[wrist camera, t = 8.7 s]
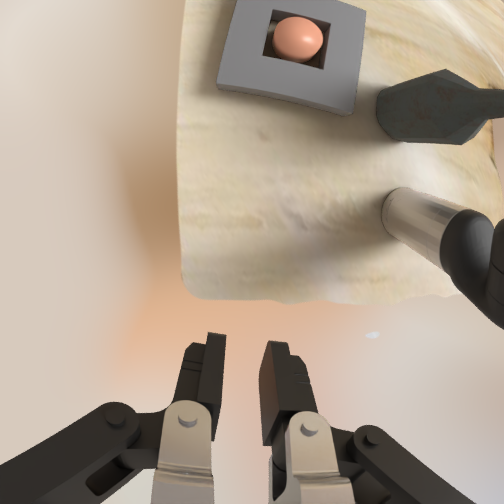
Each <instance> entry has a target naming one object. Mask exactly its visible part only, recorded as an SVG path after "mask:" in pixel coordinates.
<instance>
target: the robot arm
mask: <svg viewBox="0 0 504 504" xmlns="http://www.w3.org/2000/svg"><path fill="white" fill-rule="evenodd" d="M382 222H383V225H384V227H385V229H386V230H387V232H388V233H390V234H391V235H392V236H394V237H395V238H397V239H398V240H400V241H401V242H403V243H404V244H406V245H407V246H409V247H410V248H412V249H413V250H415V251H416V252H417V253H419V254H420V255H422V256H423V257H425V258H426V259H428V260H429V261H430V262H432V263H433V264H435V265H436V266H437V267H439V268H440V269H442V270H443V271H444V272H446V273H447V274H448V275H450V277H451V279H452V282H453V283H454V285H455V286H456V287H457V289H458V290H459V291H461V292H462V293H463V294H464V295H465V296H466V297H467V298H468V299H469V300H470V301H471V302H472V303H473V304H474V305H475V306H476V307H477V308H478V309H479V310H480V311H481V312H483V314H484V315H485V316H487V317H488V318H489V319H490V320H491V321H492V322H494V323H495V324H496V325H497V326H499V327H500V328H502V329H504V219H502V220H501V221H499V222H498V224H497V225H496V227H495V229H494V227H493V225H492V223H491V221H490V220H489V219H488V218H487V217H486V216H485V215H484V214H482V213H480V212H477V211H474V210H472V209H469V208H466V207H464V206H461V205H458V204H455V203H452V202H449V201H447V200H444V199H441V198H438V197H435V196H432V195H429V194H426V193H422V192H419V191H416V190H413V189H410V188H398V189H396V190H394V191H393V192H391V193H390V194H389V196H388V197H387V198H386V200H385V202H384V205H383V208H382ZM225 347H226V335H224V334H218V333H212V332H208V336H207V341H206V344H200V343H194V342H193V343H192V344H191V345H190V346H189V347H188V348H187V349H186V350H185V353H184V357H183V362H182V366H181V370H180V373H179V377H178V382H177V386H176V390H175V394H174V398H173V401H172V402H171V404H170V405H169V406H168V407H167V408H165V409H164V410H162V411H159V412H155V413H136V412H135V410H133V409H132V408H131V407H130V406H128V405H126V404H124V403H120V402H109V403H105V404H103V405H101V406H99V407H98V408H96V409H95V410H93V411H92V412H90V413H88V414H87V415H85V416H84V417H82V418H80V419H79V420H77V421H76V422H74V423H72V424H71V425H69V426H68V427H66V428H64V429H63V430H61V431H59V432H58V433H56V434H55V435H53V436H51V437H49V438H48V439H46V440H44V441H43V442H41V443H39V444H37V445H36V446H34V447H32V448H30V449H29V450H27V451H25V452H23V453H21V454H20V455H18V456H16V457H15V458H13V459H11V460H9V461H7V462H5V463H3V464H2V465H0V504H100V503H102V502H103V501H104V500H106V499H107V498H108V497H110V496H111V495H112V494H114V493H115V492H116V491H117V490H118V489H120V488H121V487H122V486H124V485H125V484H126V483H127V482H129V481H130V480H131V479H132V478H133V477H135V476H136V475H137V474H138V473H139V472H141V471H142V470H143V469H155V468H156V469H155V472H154V478H153V487H152V496H151V504H214V481H213V475H212V471H211V441H214V439H215V433H216V429H217V424H218V419H219V413H220V408H221V401H222V385H223V373H224V360H225ZM259 394H260V408H261V423H262V437H263V446H272V455H271V457H270V459H269V503H268V504H476V503H474V502H473V501H471V500H470V499H468V498H467V497H466V496H465V495H463V494H462V493H461V492H459V491H458V490H456V489H455V488H454V487H452V486H451V485H450V484H449V483H447V482H446V481H445V480H443V479H442V478H441V477H440V476H438V475H437V474H436V473H434V472H433V471H432V470H431V469H429V468H428V467H427V466H426V465H424V464H423V463H422V462H421V461H419V460H418V459H417V458H416V457H415V456H413V455H412V454H411V453H410V452H408V451H407V450H406V449H405V448H404V447H402V446H401V445H400V444H398V442H396V441H395V440H394V439H393V438H392V437H390V436H389V435H388V434H387V433H386V432H385V431H383V430H382V429H380V428H379V427H377V426H373V425H364V426H361V427H359V428H358V429H357V430H356V431H355V432H350V431H345V430H341V429H336V428H333V427H331V426H330V424H329V423H328V421H327V420H326V419H325V418H324V417H323V416H321V415H320V414H318V410H317V406H316V403H315V398H314V395H313V391H312V387H311V384H310V379H309V376H308V372H307V368H306V365H305V363H304V362H303V361H302V360H301V358H300V357H299V356H294V355H290V351H289V346H288V343H286V342H278V341H268V343H267V346H266V350H265V353H264V357H263V360H262V364H261V367H260V371H259Z"/></svg>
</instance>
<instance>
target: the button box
mask: <svg viewBox="0 0 504 504" xmlns="http://www.w3.org/2000/svg"><path fill="white" fill-rule="evenodd" d="M289 17H301V18H305V19H308V20H310V21H311V22H313V23H314V24H315V25H317V27H318V28H319V29H320V31H321V32H324V38H323V44H322V50H321V55H320V61H319V67H318V68H315V67H311V66H307V65H303V64H299V63H295V62H291V61H286V60H282V59H277V58H272V57H267V56H262V54H263V50H264V45H265V41H266V37H267V32H268V28H269V23H270V20H276V21H282V20H284V19H286V18H289ZM365 20H366V11H365V10H363V9H360V8H357V7H355V6H352V5H349V4H346V3H343V2H340V1H337V0H237V3H236V6H235V10H234V13H233V17H232V20H231V24H230V28H229V31H228V35H227V39H226V43H225V47H224V51H223V55H222V59H221V63H220V67H219V72H218V76H217V81H216V85H217V87H218V89H221V90H228V91H235V92H242V93H248V94H254V95H259V96H265V97H270V98H275V99H279V100H284V101H288V102H293V103H297V104H301V105H305V106H309V107H313V108H317V109H320V110H324V111H328V112H331V113H334V114H338V115H341V116H347V115H350V114H353V110H354V104H355V98H356V92H357V85H358V78H359V71H360V64H361V57H362V49H363V40H364V31H365Z"/></svg>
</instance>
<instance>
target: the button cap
mask: <svg viewBox="0 0 504 504" xmlns="http://www.w3.org/2000/svg"><path fill="white" fill-rule="evenodd" d="M322 42H323V36H322V33H321V31H320V29H319V28H318V27H317V25H315V24H314V23H313V22H311V21H310V20H308V19H305V18H301V17H289V18H286V19H284V20H282V21H281V22H279V23H278V25H277V26H276V29H275V32H274V36H273V39H272V46H273V49H274V51H275V53H276V54H277V55H278V56H279V57H280V58H282V59H283V60H286V61H291V62H295V63H303V62H306V61H308V60H310V59H311V58H312V57H313V56H314V55H315V54H316V52H317V51H318V50H319V49H320V47H321V45H322Z"/></svg>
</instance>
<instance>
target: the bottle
mask: <svg viewBox="0 0 504 504" xmlns="http://www.w3.org/2000/svg"><path fill="white" fill-rule="evenodd" d="M503 117H504V90H502V89H481V88H478V87H476V86H475V85H473V84H472V83H470V82H468V81H467V80H465V79H463V78H462V77H460V76H458V75H456V74H454V73H453V72H451V71H449V70H447V69H444V70H440V71H437V72H433V73H430V74H427V75H424V76H420V77H417V78H414V79H411V80H408V81H405V82H402V83H400V84H397V85H394V86H392V87H389V88H387V89H384V90H382V91H381V93H380V94H379V96H378V98H377V118H378V121H379V123H380V125H381V126H382V127H383V128H384V130H385V131H386V132H387V133H388V134H389V135H390V137H391V138H393V139H396V140H400V141H404V142H407V143H436V144H453V145H462V144H464V143H466V142H467V141H469V140H471V139H472V138H474V137H475V136H476V134H477V133H478V132H479V131H480V129H481V128H482V127H483V126H484V124H485V123H486V122H487V121H488V119H495V118H503Z"/></svg>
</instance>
